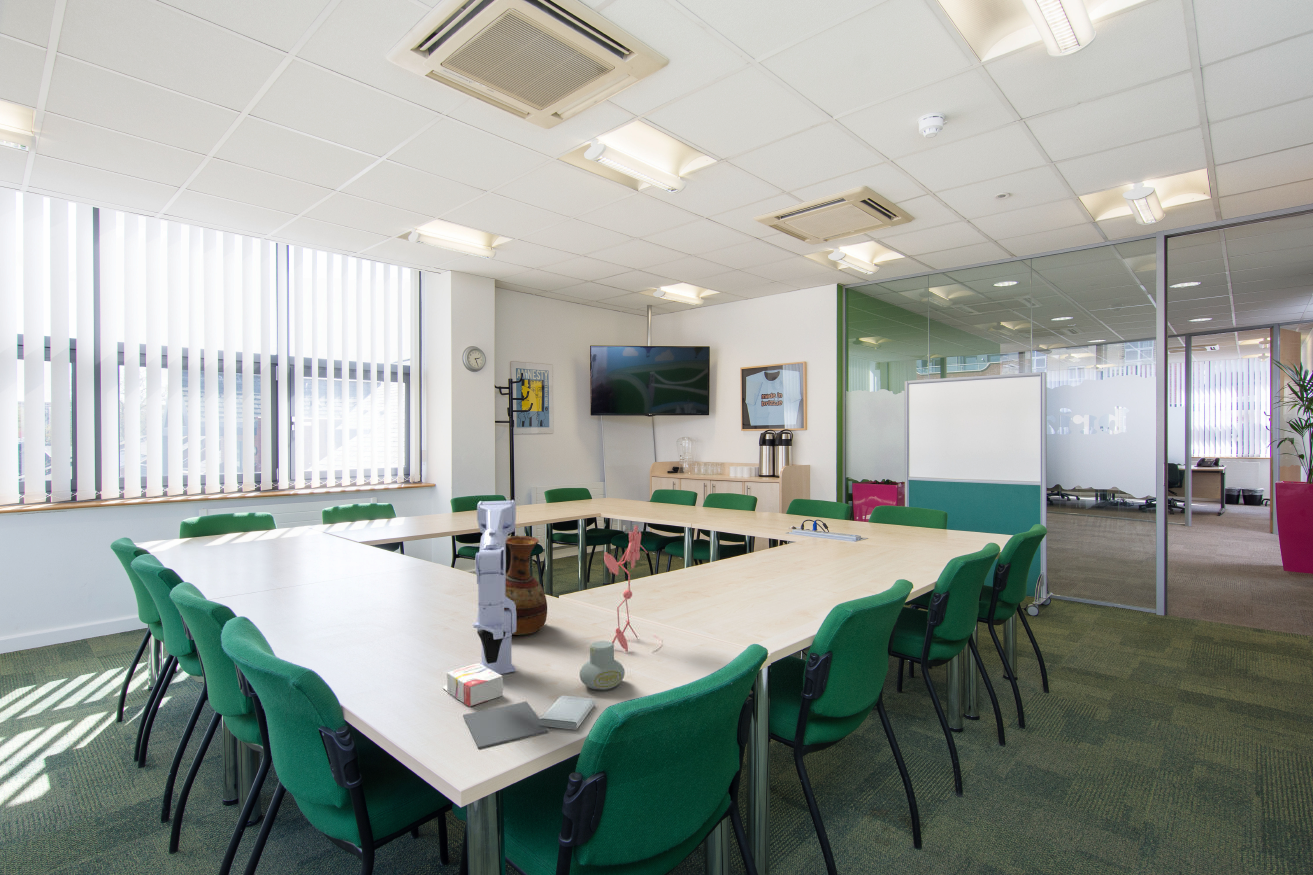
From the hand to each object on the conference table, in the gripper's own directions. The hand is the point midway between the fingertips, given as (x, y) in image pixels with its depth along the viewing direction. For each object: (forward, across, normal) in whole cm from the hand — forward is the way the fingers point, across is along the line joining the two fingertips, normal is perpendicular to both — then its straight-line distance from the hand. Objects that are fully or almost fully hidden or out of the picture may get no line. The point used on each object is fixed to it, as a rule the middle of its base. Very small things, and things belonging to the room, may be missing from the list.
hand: (491, 662), depth 138 cm
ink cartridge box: (+7, -1, -1) cm, 7 cm away
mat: (+9, +12, 0) cm, 15 cm away
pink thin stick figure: (+10, -19, +46) cm, 51 cm away
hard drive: (+9, +15, +13) cm, 22 cm away
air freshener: (+10, +3, +26) cm, 28 cm away
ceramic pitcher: (+10, -51, +19) cm, 55 cm away
